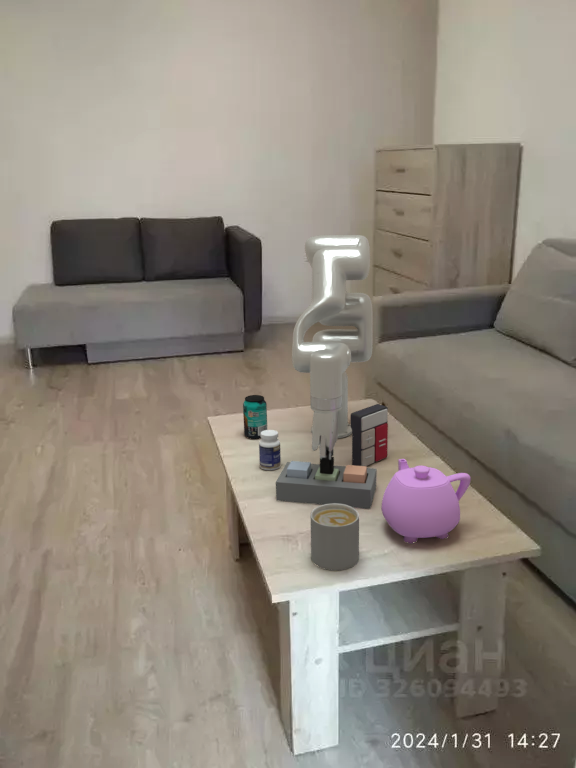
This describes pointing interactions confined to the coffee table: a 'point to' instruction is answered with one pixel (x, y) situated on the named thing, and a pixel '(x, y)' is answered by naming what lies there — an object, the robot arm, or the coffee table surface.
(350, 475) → the terracotta button
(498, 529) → the coffee table surface
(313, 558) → the coffee mug
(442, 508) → the teapot
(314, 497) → the button housing
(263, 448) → the pill bottle
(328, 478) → the sage button
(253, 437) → the teal supplement jar
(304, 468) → the slate button
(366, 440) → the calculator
